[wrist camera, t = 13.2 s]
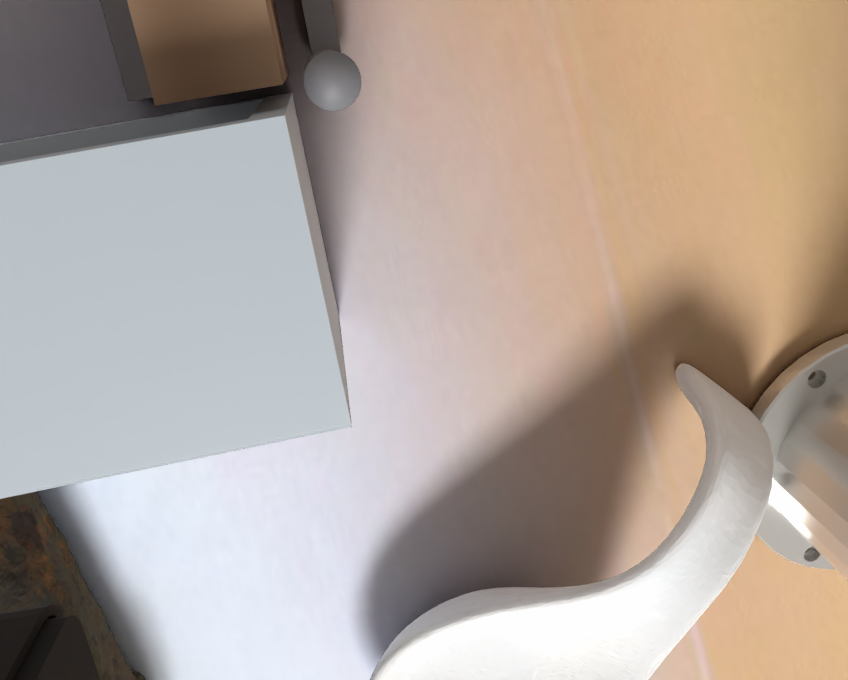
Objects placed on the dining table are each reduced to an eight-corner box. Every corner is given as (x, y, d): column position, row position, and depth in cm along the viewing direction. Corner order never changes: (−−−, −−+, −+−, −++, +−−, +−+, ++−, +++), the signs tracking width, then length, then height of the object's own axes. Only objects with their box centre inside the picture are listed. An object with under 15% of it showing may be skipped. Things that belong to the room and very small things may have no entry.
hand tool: (-64, 450, 33) (-121, 513, 28) (32, 424, 33) (-10, 482, 29) (110, 771, 40) (86, 861, 36) (188, 749, 40) (174, 835, 36)
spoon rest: (495, 769, 43) (529, 901, 37) (313, 685, 40) (313, 815, 33) (793, 438, 38) (895, 522, 32) (616, 309, 35) (689, 372, 28)
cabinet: (287, -261, 26) (276, -432, 16) (391, 307, 33) (424, 411, 24) (-300, -177, 24) (-671, -311, 15) (-58, 395, 32) (-209, 541, 22)
